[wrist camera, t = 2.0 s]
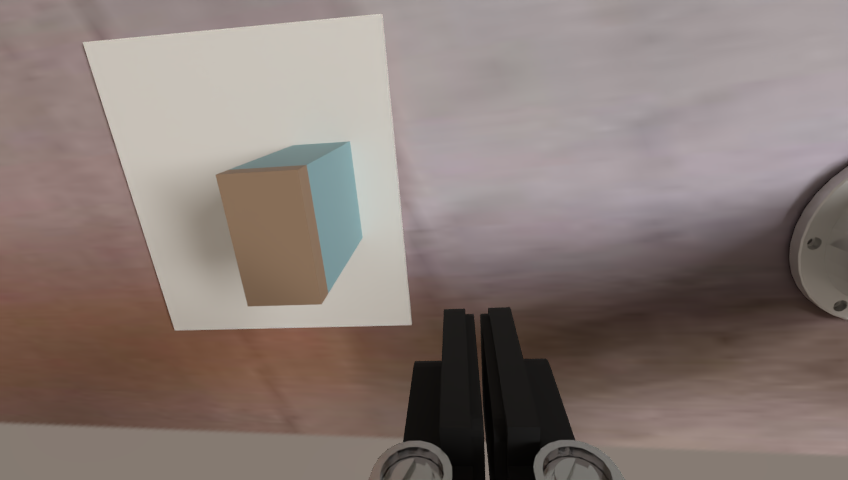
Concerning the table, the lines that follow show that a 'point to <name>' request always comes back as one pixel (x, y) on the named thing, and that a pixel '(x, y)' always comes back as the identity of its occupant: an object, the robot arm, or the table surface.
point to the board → (254, 156)
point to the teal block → (292, 222)
